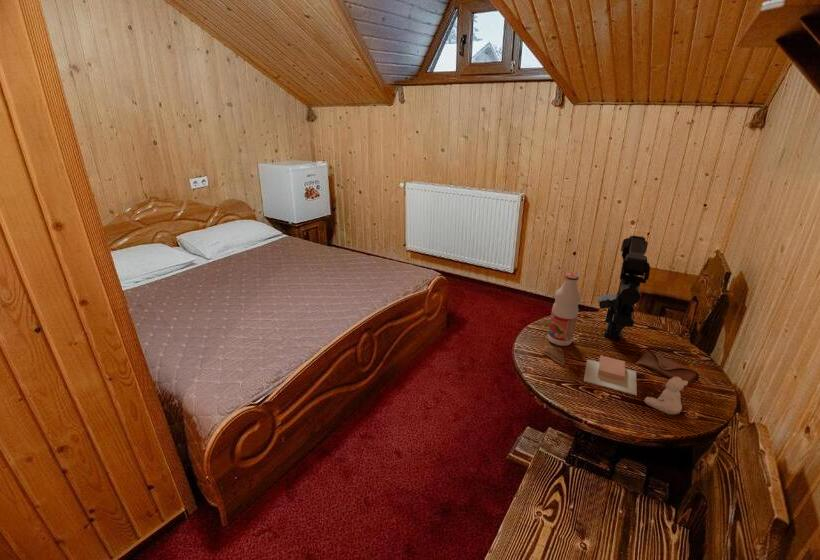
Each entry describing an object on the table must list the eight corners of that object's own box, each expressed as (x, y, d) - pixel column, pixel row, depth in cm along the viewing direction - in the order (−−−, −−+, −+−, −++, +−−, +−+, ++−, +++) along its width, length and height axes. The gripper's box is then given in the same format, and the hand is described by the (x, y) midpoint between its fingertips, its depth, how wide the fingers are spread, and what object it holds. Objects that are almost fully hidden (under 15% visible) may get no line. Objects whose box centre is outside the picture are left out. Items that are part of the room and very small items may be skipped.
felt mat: (586, 360, 148) (587, 359, 147) (635, 372, 141) (636, 371, 141) (583, 381, 136) (583, 380, 136) (636, 395, 130) (636, 394, 129)
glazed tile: (600, 355, 146) (598, 369, 137) (625, 361, 142) (624, 376, 134) (599, 361, 147) (597, 375, 138) (623, 367, 143) (623, 382, 135)
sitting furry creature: (665, 396, 130) (675, 365, 125) (689, 413, 122) (701, 381, 118) (642, 401, 127) (651, 370, 122) (665, 420, 120) (677, 387, 115)
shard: (564, 368, 144) (564, 363, 143) (541, 364, 146) (542, 359, 145) (563, 352, 153) (563, 348, 153) (542, 348, 155) (542, 344, 155)
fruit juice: (575, 346, 156) (589, 280, 145) (550, 345, 156) (562, 279, 145) (567, 334, 164) (580, 270, 153) (544, 333, 165) (555, 270, 154)
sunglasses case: (633, 362, 146) (641, 346, 146) (639, 365, 151) (647, 349, 151) (688, 389, 133) (697, 371, 133) (692, 390, 138) (701, 373, 138)
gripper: (604, 277, 149) (595, 314, 155) (601, 298, 134) (592, 338, 140) (638, 283, 144) (627, 321, 151) (638, 305, 129) (627, 346, 136)
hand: (618, 331), depth 145 cm, fingers closed
